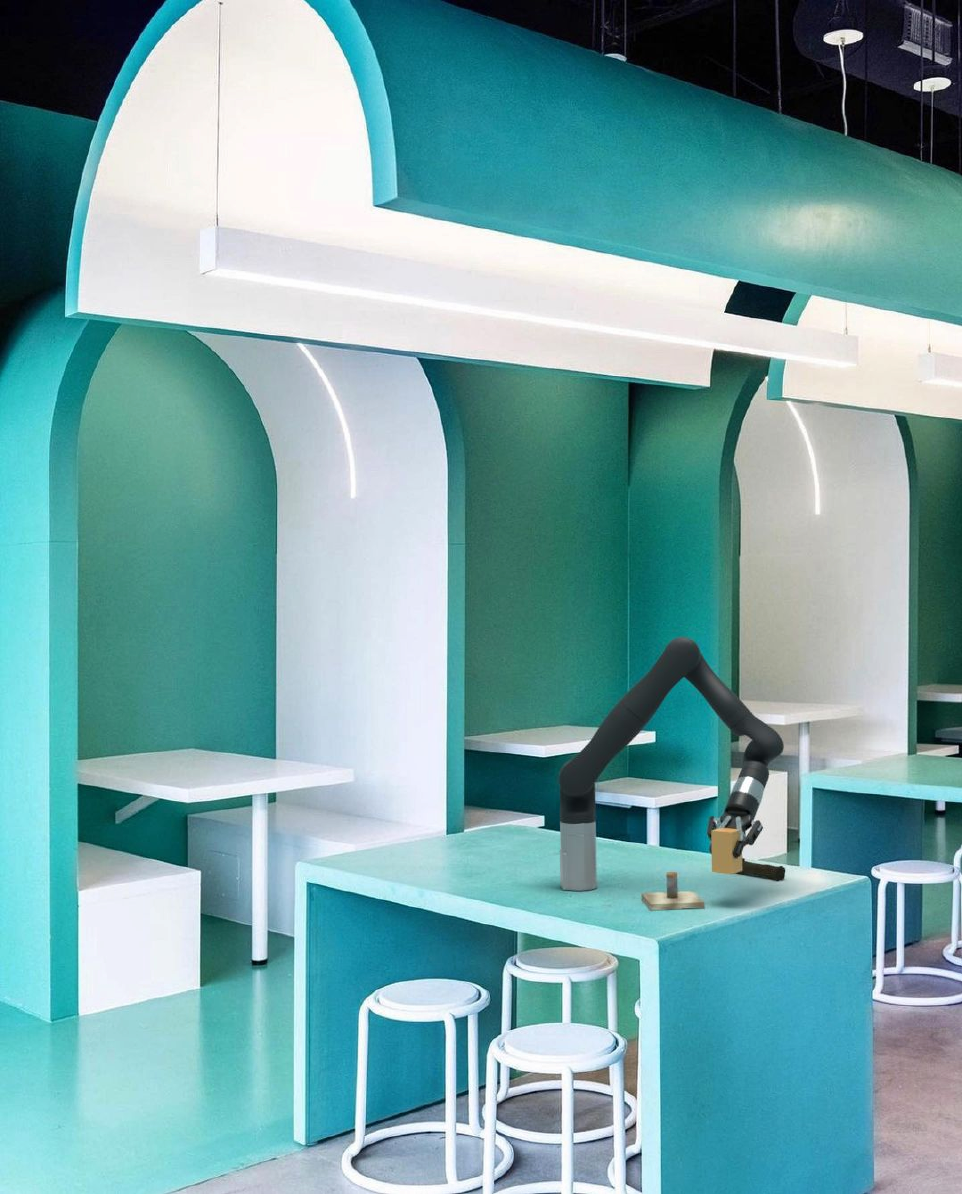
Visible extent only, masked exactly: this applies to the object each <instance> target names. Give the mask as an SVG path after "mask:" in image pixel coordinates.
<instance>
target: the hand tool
mask: <svg viewBox="0 0 962 1194" xmlns="http://www.w3.org/2000/svg"><path fill="white" fill-rule="evenodd" d="M734 875H739V876H740V875H751V876H756V877H761V878H762V877H764V878H767V879H770V880H772V879H773V880H775V881H776V882H780V881H779V880H781V881H784V879H785V877H786V867H784V866H783V865H779V866H778V865H777V866H776V865H772V864H764V863H757V862H751V861H747V860H746V858H744V857H742V871H740V872H737V873H735V874H734Z"/></svg>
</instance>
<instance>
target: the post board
mask: <svg viewBox="0 0 962 1194" xmlns="http://www.w3.org/2000/svg"><path fill="white" fill-rule="evenodd" d="M665 876H666V891H662V892H641V900H642V901H643V903H644V904H645V906H647V908H648V909H649V910H650V911H668V910H667V909H677V910H682V909H681V908H704V909H705V908H706V907H705V904H706V903H705V901H704V900H703V899H702V898H701V897H700V896H699V895H698V894H697V893H696V892H694V890H693V891H692V890H691V891H689V890H688V891H678V889H679V888H678V872H676V871H669V872H666V875H665ZM679 908H680V909H679Z"/></svg>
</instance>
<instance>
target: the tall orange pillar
mask: <svg viewBox="0 0 962 1194" xmlns="http://www.w3.org/2000/svg"><path fill="white" fill-rule="evenodd" d="M739 831H740V830H737V829H730V828H718V827H717V828H716V829H715V830H712V831H711V841H710V843H711V842H712V855H711V873H717V874H725V875H736V874H735V873H737V872H740V871H742V858H743V852H742V853H741V855H740V857H739V856H738V858H734V856H733V854H732V853H733V850H734V847H735V845H736V842H737V841H738V836H739Z"/></svg>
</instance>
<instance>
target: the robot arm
mask: <svg viewBox="0 0 962 1194" xmlns="http://www.w3.org/2000/svg"><path fill="white" fill-rule="evenodd" d="M684 678H685V679H686V680H687V681H688V682H689V683H690V684H691V685H692V686H693V687H694V688H695V689H696V691H698V692H699V693H700V695H701V696H702V697H703V699H705V701H706V702H707V704H708V705H709V707H711V709H712V711H714V713H715V714H716V715H717V716H718V718H719V719H720V720H721V721H722V722H723V723H724V724H725V726H726V727H727V728H728V729H729V730H730V731H731V733H732V734H733V735H735V736H736V737H743V736H746V737H748V738H750V739H751V741H750V742H749V743H748V744H747V746H746V748H745V750H744V752H743V757H742V768H740V769H741V770H740V772H739V774H738V777H737V780H736V781H735V783H734V785H733V786H732V789H731V793H730V795H729V796H728V800H727V801H726V802H727V803H726V804H725V806H724V807H725V808H724V813H722V814H721V816H720V817H715V816H714V815H710V816H709V818H708V824H707V828H706V829H707V831H706V836H707V837H708V839H709V841H710V844H709V848H708V850H709V852H710V854H711V856H712V842H711V831H712V830H715V829H718V828H730V829H737V830H740V831H739V836H738V841H737V842H736V845H735V847H734V850H733V853H732V854H733V856H734V858H738V856H739V857H740V855H741V853H742V854H743V852H744V851H743V850H744V848H745V847H747V846H748V845H749V846H753V845H754V844H755V842H756V840H757V839H758V837H759V836H760V834H761V832H762V831H763V829H764V827H763V824H762V822H761V821H760V820H758V819H757V820H755V819H756V816H757V813H758V810H759V808H760V806H761V802H762V799H763V795H764V792H765V789H766V787H767V784H768V781H769V778H770V771H769V768H768V766H769V764H770V763H772V761H773V760H775V759H777V758H778V757H779V756H781V754H783V752H784V748H785V747H784V746H785V745H784V741H783V739H782V737H781V736H780V734H779V733H778V731H776V730H775V729H774V728H772V727H771V726H770V725H768V724H767V723H765V721H763V720H761V719H760V718H758V717H756V716H755V715H754V713H753V712H751V710H750V709H749V708H748V706H747V705H745V703H744V702H743V701H742V700H741V698H739V697H738V696H737V695H736V694H735V693H734V691H732V689H730V688H729V687H728V686H727V685H726V684H725V683H724V682H723V680H721V679H720V677H719V676H718V675H717V674H716V672H714V670H713V669H712V668H711V666H710V665H709V663H708V662H707V661H706V659H705V657H704V656H703V654H702V652H701V649H700V647H699V645H698V644H697V643H696V642H695V640H693V639H691V638H689V637H686V636H680V637H676V638H673V639H672V640H671V641H669V642H668V644H667V645H666V646H665V648H664V650H663V651H662V653H661V654H660V656H659V657H658V659H657V660H656V662H655V663H654V664H653V666H652V667H651V669H649V671H648V672H647V673H646V674H645V675H644V676H643V677H642V678H641V679H640V680H639V681H638V682H636V683H635V684H634V685H633V686H632V687H631V688H630V689H629V690H627V692H626V693H625V694H624V695H623V696H622V697H621V698H620V699H619V701H617V703H616V704H615V705H614V706H613V708H612V709H611V710H610V711H609V712H608V713H607V715H606V717H605V718H604V719H603V721H602V722H601V724H600V725H599V727H598V728H597V730H596V731H595V733H594V735H593V736H592V738H591V739H590V740H589V742H587V744H586V745H585V746H584V747H583V749H581V750H580V752H578V754H577V755H574V757H573V758H572V759H569V760H567V761H566V762H564V764H563V765H562V767H561V768H560V771H559V773H558V784H559V800H560V801H559V804H560V805H559V827H560V828H559V829H560V830H559V834H560V849H559V869H560V870H559V872H560V873H559V874H560V875H559V879H560V880H559V881H560V887H561V889H562V890H563V891H577V892H578V891H579V892H580V891H591V890H594V889H597V888H598V871H597V870H598V869H597V868H598V867H597V865H598V864H597V863H598V862H597V833H596V831H597V828H596V827H597V826H596V824H597V823H596V809H597V808H596V806H597V805H596V781H597V780H598V779H599V778H600V776H601V774H602V773H603V772H604V770H605V769H606V768H607V766H608V765H609V764H610V763H611V761H612V760H613V759H614V758H615V757H617V756H618V754H620V752H622V751H623V750H624V749H625V748H626V747H627V746H628V745H629V744H630V743H632V741H633V740H634V739H635V738H636V737H637V736H638V735H639V734H640V732H641V731H643V729H644V728H645V727H646V726H647V724H648V723H649V722H650V720H652V718H653V717H654V715H655V714H656V712H657V711H658V709H659V708H660V707H661V705H662V703H663V702H664V700H665V698H666V697H667V696H668V694H669V693H670V692H671V690H673V688H675V686H676V685H677V684H678V683H679V682H681V680H682V679H684ZM748 830H749V832H748V833H746V832H747V831H748Z"/></svg>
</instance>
